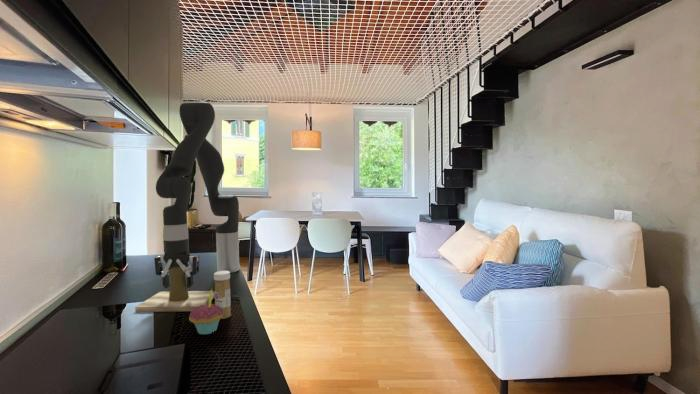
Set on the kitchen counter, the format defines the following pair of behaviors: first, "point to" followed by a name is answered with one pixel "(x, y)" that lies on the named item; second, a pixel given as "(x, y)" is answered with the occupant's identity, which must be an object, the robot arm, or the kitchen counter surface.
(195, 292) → the birch board
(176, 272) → the cork
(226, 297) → the sprinkles bottle
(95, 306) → the kitchen counter surface
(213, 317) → the cupcake
